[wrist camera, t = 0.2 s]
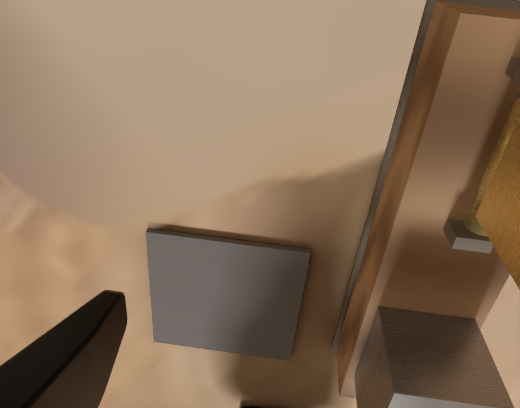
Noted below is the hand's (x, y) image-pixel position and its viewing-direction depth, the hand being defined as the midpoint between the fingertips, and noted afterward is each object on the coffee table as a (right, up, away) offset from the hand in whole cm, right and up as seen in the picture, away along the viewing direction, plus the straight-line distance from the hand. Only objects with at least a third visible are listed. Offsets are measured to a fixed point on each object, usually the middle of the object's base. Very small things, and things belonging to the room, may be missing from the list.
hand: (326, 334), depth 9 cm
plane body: (+8, +2, +14) cm, 17 cm away
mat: (-4, -3, +19) cm, 20 cm away
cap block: (+7, -5, +14) cm, 17 cm away
